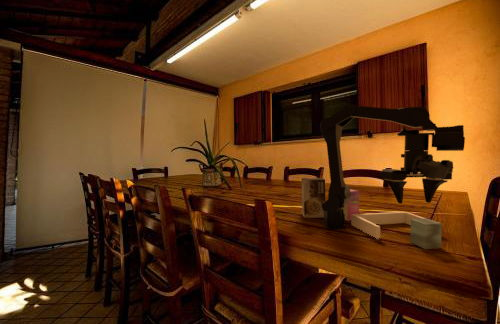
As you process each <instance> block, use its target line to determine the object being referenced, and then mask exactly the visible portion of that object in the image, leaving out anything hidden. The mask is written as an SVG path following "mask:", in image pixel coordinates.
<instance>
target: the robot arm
mask: <svg viewBox="0 0 500 324" xmlns="http://www.w3.org/2000/svg"><path fill="white" fill-rule="evenodd" d="M430 115H431V114H430V112H429V111H428V110H427V108H425V107H423V106H411V107H410V106H409V107H406V106H405V107H400V108H399V107H397V108H389V107H388V108H386V107H377V106H376V107H375V106H374V107H373V106H363V105H356V104H348V105H347V106H346V107H344V108H343V109H341V110H340V111H337V112H335V113H334V114H332V115H330V116H329V117H328V116H327V117H326V118H323V120H322V121H321V122H320V124H319V126H320V132H321V136H322V137H323V139H324V141H325V143H326V149H327V158H328V169H329V179H330V183H329V188H328V192H327V193H328V194H327V200H325V202H324V203H323V204H322V209H323V211H324V218H323V221H322V222H321V224H322V225H323V226H325V227H326V228H327V229H329V230H330V229H346V228H347V226H346V225H345V223H346V220H345V214H344V210H343V209H342V208H344V205H345V204H347V203H348V202H349V200H350V197H351V196H352V195H351V193H350V189H351V185H349V184H348V185H347V184H346V183H345V179H344V171H343V163H342V162H343V161H342V152H341V143H340V142H341V139H342V135H343V134H342V133H343V132H342V131H343V128H344V127H345V126H347V125H348V124H349V123H350V122H351V121H352V120H354V119H355V118H358V119H367V120H377V121H384V122H392V123H395V124H397V125H402V126H406V127H409V128H413V129H406V127H403V128H402V129H401V130H400V131H399V132H397V134H396V135H397V136H398V137H404V150H403V151H404V153H401V154H400V158H403V167H400V169H398V168H397V169H395V168H383V169H382V170H381V171H380V174H379V176H380V177H379V178H380V179H383V181H384V182H386V183H387V185H389V187H390V189H391V192H393V196H394V197H395V199H396V201H397V203H398V204H400V205H401V204H403V200H404V188H405V185H406V184H407V183H408V181H405V180H406V179H407V178H421V180H422V186H423V187H422V188H423V193H424V195H423V196H424V199H425V202H426V203H428V204H430V203H431V202H432V200H433V198H434V196H435V195H436V192H437V190H438V189H439V187H440V186H441V185H443V184H445V183H447V182H448V180H453V170H454V162H453V161H452V160H450V159H443V160H441V161H439V160H438V161H435V160H434V156H433V154H431V153H429V143H430V136H431V148H436V151H437V152H438V151H441V152H446V151H447V152H449V151H451V152H456V151H457V152H459V151H460V152H461V151H463V152H464V149H465V144H466V143H465V142H466V141H465V140H466V138H465V136H464V135H465V133H464V131H465V130H464V125H463V124H461V125H452V126H437V124H436V123H434V122H433V120H431V117H430ZM420 129H422V130H425V131H426V132H420Z"/></svg>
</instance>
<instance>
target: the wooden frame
mask: <svg viewBox="0 0 500 324" xmlns="http://www.w3.org/2000/svg"><path fill="white" fill-rule="evenodd" d="M424 218H425V217H423V216H420V215H417V214H413V213H412V212H408V211H390V212H370V213H359V214H351V221H350V223H351V224H350V225H351V226H353V227H354V228H355V229H358V230H359V229H360V230H359V231H361V230H362V231H361V232H363V233H365V234H366V233H367V234H366V235H368V234H369V235H368V236H370V235H371V236H370V237H372V236H373V237H375V238H376V239H375V238H374V239H375V240H380V239H381V226H380V225H392V224H393V225H394V224H395V225H396V224H406V225H409V226H411V219H424ZM431 220H432V219H431ZM432 221H435V222H438V221H436V220H432ZM438 223H440V222H438ZM376 224H379V225H376ZM373 237H372V238H373ZM379 238H380V239H379Z"/></svg>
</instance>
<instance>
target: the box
mask: <svg viewBox="0 0 500 324" xmlns="http://www.w3.org/2000/svg"><path fill="white" fill-rule="evenodd" d="M350 193H351V195H352V196H351V197H350V200H349V202H348V203H347V204H345V205H344V208H342V209H343V210H344V214H345V222H351V214H360V191H359V190H357V189H352V188H350Z"/></svg>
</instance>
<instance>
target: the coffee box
mask: <svg viewBox="0 0 500 324" xmlns="http://www.w3.org/2000/svg"><path fill="white" fill-rule="evenodd" d="M324 202H326V179H324V178H323V177H302V178H301V215H302V216H303V218H307V219H308V218H316V219H317V218H318V219H319V218H322V219H324V211H323V209H322V204H323V203H324Z"/></svg>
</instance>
